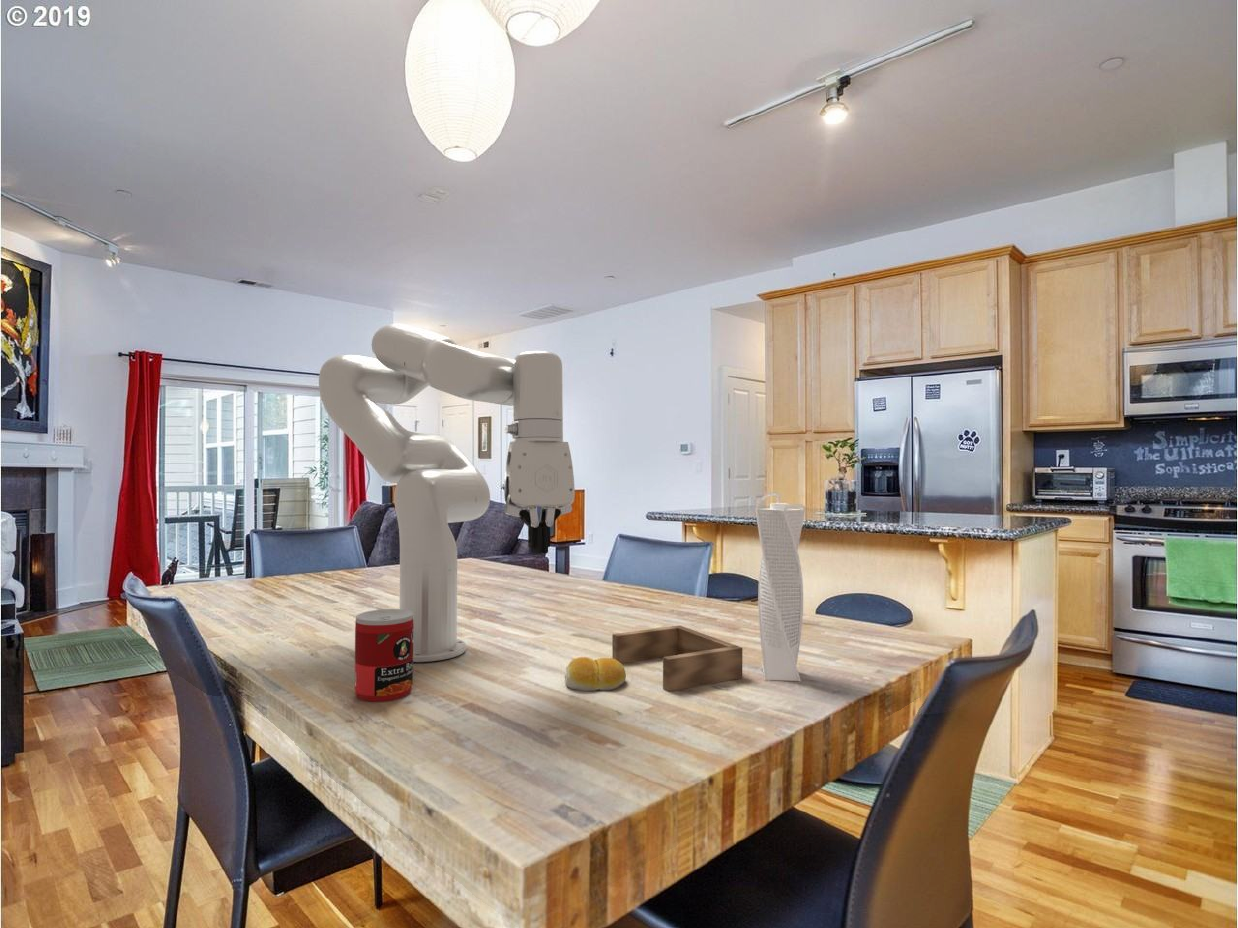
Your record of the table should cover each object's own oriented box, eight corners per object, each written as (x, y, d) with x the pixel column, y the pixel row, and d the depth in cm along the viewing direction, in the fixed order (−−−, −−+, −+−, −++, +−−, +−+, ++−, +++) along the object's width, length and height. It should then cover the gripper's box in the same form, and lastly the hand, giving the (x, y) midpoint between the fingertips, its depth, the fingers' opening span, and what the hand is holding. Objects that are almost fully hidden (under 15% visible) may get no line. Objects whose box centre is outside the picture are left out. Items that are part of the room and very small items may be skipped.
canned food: (379, 706, 85) (380, 622, 86) (342, 695, 90) (342, 615, 90) (425, 690, 92) (425, 612, 92) (388, 680, 96) (388, 606, 96)
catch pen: (668, 691, 92) (668, 659, 92) (612, 661, 106) (612, 634, 107) (742, 677, 98) (742, 647, 98) (680, 651, 113) (680, 625, 113)
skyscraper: (753, 666, 104) (752, 492, 105) (800, 667, 103) (799, 492, 104) (758, 681, 96) (758, 493, 97) (810, 683, 95) (809, 493, 96)
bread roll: (630, 691, 92) (630, 663, 93) (567, 694, 91) (567, 665, 91) (620, 673, 101) (620, 648, 101) (562, 676, 99) (563, 650, 99)
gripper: (499, 429, 93) (500, 558, 92) (592, 432, 100) (594, 551, 99) (483, 433, 99) (484, 553, 99) (571, 436, 107) (572, 547, 106)
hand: (539, 552), depth 99 cm, fingers closed
